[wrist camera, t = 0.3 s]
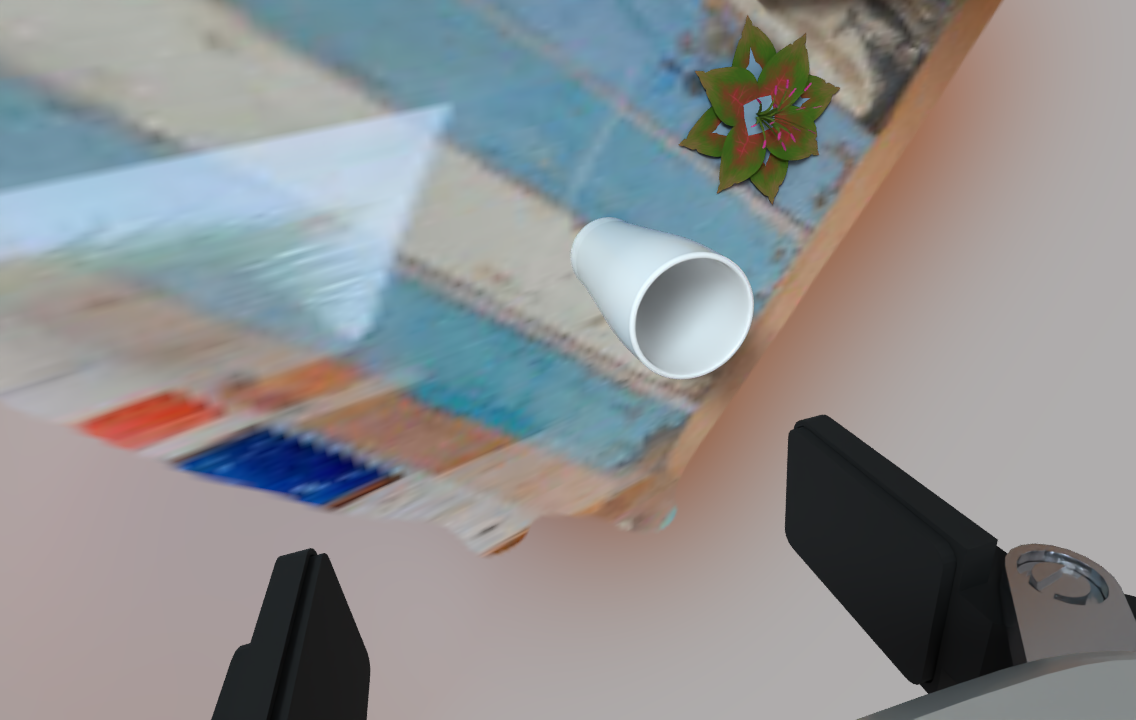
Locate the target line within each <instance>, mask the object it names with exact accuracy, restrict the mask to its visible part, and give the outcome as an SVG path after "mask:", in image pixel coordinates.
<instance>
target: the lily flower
mask: <svg viewBox="0 0 1136 720" xmlns="http://www.w3.org/2000/svg"><path fill="white" fill-rule="evenodd" d="M805 42H806V33H805V34H804V35H803V36H802V38H799V39H797V40H796V41H794V43H793V45H792V44H789V45H788V46H786V47H785V48H783V49H782V50H780V51H779V52H778V53H777V54H776V51H775V48H774V46H773V44H772V43H771V41H770V40H769V38H768V37H767V36H766V35H765V34H764V33H763V32H762V31H761V30H760V29H759V28H758V27H755V26H752V21H751V20H750V19H749V17H748V15H747V18H746V24H745V26H744V29H743V31H742V38H741V39H740V40H739V43H738V46H737V49H736V52H735V55H734V59H733V63H732V67H725V68H719V69H713V70H710V71H708V72H706V73H705V72H704V71H695V72H696V74H697V75H698V77H700V81H701V83H702V85H703V87H704V88H705V89H706V94H707V96H708V98H709V100H710V102H711V104H712V107H711V108H710V109H708V110H707V111H706V112H705V113H704V114H703V115H702V117H701V118H700V119H699V120H698V121H697V123H696V124H695V125H694V127H693V128H692V129H691V131H690V132H689V134H688V136H687V139H684V140H683V141H682V142H681V143H680V144H679V145H680V146H685V147H687V148H690V149H693V150H694V149H697V151H698V152H699V153H702V154H705V155H708V156H714V157H721V165H720V174H719V180H720V185H719V187H718V191H717V193H719V192H721V191H722V189H726V188H728V187H731V186H732V185H733V184H734V183H736V184H738V183H740V182H742V181H744V180H746V179H748V178H750V179H751V181H752V182H753V183H754V185H755V186H756V187H757V188H758V189H759V190H760V191H761V192H762V193H763V194H764V195H767V196H769V200H770V201H771V203H772V204H773V201H774V197H775V196H776V194H777V192H778V190H779V188H778V187H779V185H781V184H782V182H783V180H784V178H785V175H786V172H787V168H788V161H789V160H800V159H804V158H807V157H809V156H810V155H811V154H813V155H819V153H818V150H817V149H818V148H817V141H816V140H815V139H816V137H817V131H816V125H815V123H814V121H815V120H816V119H817V118H818V117H819V116H820V115H821V114H822V112H823V111H824V110H825V108H826V107H827V105H828V104H829V102H830V101H831V97H832V95H833V94H835V93H836V92H837V91H838V90H839V89H840V88H839V87H835V86H834V85H832V84H830V83H825V80H823V79H821V78H819V77H816V76H812V75H809V60H808V53H807V49H806V47H805V45H804V44H805ZM750 47H751V50H752V52H753V55H754V58H755V61H756V62H757V63H758V64H760V66H761V68H762V69H763V70H762V72H761V74H760V76H759V78H758V81H757V80H756V78H755V77H754V75H753V74H752V73H751V72H750V71H748V70H746V68H747V66H748V65H749V58H750ZM768 95H771V97H772V103H771V105H770V107H769V108H768V109H767V110H766V111H763V112H761V111H762V104H761V101H760V100H759V99H757V98H759V97H764V96H768ZM799 97H802V98H810V99H809V100H807V101H806V102H804V103H803V104H802V106H801V108H800V107H797V106H791V105H792V104H793V103H794V102H796V100H797V99H798V98H799ZM755 99H757V101H758V102H759V104H760V107H759V108H760V109H759V111H758V113H757V115H758V117H756V118H757V122H756V124H755V125H753V126H751V127H754V126H756V125H757V124H758V122H759V123H760V126H761V129H762V131H763V132H762V133H759V134H755V135H750V136H748V132H747V128H746V124H745V119H744V107H743V105H745V104H747V103H749V102H751V101H753V100H755ZM772 105H773V108H774V109H772V110H770V109H771V107H772ZM769 110H770V111H769ZM772 116H775V117H772ZM770 117H771V118H770ZM772 118H775V119H772ZM763 120H765V121H767V122H768V123H769V125H770V124H771V125H772V126H773V127H772V128H771V127H770V126H768V125H767V124H766V123H765V122H764V121H763ZM721 122H724V123H725V124H727V125H729V126H734V127H733V128H732V129H731V130H730V132H729V133H728V135H727V136H724V135H719V134H717V133H712V132H713V131H714V130H716V128H717V126H718V125H719V124H720V123H721ZM762 122H763V123H764V124H765V125H766V126H767V127H768V128H769V129H768V130H766V131H764V127H763V125H762ZM766 147H767V149H768V150H769V151H770V152H771V153H770V156H769V159H768V161H767V163H766V166H765V164H764V163H763V161H764V158H765V154H766Z"/></svg>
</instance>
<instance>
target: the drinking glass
mask: <svg viewBox="0 0 1136 720" xmlns="http://www.w3.org/2000/svg"><path fill="white" fill-rule="evenodd" d="M571 265H572V269H573V271H574V273H575V275H576V277H577V278H578V280H579V281H580V282H581V283H582V284H583V285H584V286H585V288H586V290H587V291H588V293H589V294H590V296H591V297H592V299H593V301H594V302H595V304H596V305H597V307H598V309H599V310H600V312H601V314H602V315H603V317H604V319H605V320H606V322H607V323H608V325H609V327H610V328H611V329H612V331H613V332H614V334H615V335H616V336H617V337H618V339H619V340H620V341H621V342H622V343H623V345H624V346H625V347H626V348H627V349H628V350H629V351H630V352H631V353H632V354H633V355H634V356H635V357H636V358H637V359H638V360H640V361H641V362H642V363H643V364H644V365H645V366H646V367H647V368H649V369H650V370H651V371H653V372H654V373H656V374H658V375H661V376H663V377H667V378H671V379H691V378H696V377H700V376H703V375H706V374H708V373H710V372H712V371H714V370H716V369H717V368H719V367H720V366H722V365H723V364H724V363H726V362H727V361H728V360H729V359H730V358H731V357H732V356H733V355H734V354H735V353H736V351H737V350H738V349H739V348H740V346H741V345H742V343H743V341H744V340H745V338H746V336H747V334H748V331H749V329H750V326H751V322H752V318H753V311H754V299H753V293H752V289H751V285H750V283H749V281H748V279H747V277H746V275H745V274H744V272H743V271H742V270H741V268H740V267H739V266H738V265H737V264H735V263H734V262H733V261H731V260H730V259H728V258H726V257H724V256H723V255H721V254H720V253H718V252H716V251H714V250H713V249H711V248H709V247H707V246H705V245H702V244H700V243H698V242H696V241H693V240H691V239H688V238H685V237H682V236H679V235H675V234H671V233H667V232H663V231H659V230H655V229H651V228H647V227H643V226H639V225H635V224H631V223H628V222H626V221H624V220H622V219H619V218H614V217H604V218H599V219H596V220H594V221H592V222H590V223H589V224H587V225H586V226H585V227H583V228H582V229H581V231H580V232H579V233H578V234H577V236H576V238H575V240H574V242H573V245H572V249H571Z"/></svg>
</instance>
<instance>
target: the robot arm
mask: <svg viewBox="0 0 1136 720" xmlns="http://www.w3.org/2000/svg"><path fill="white" fill-rule="evenodd" d="M787 460H788V461H787V487H786V514H785V516H786V517H785V533H786V537H787V539H788V542H789V543H790V545H791V546H792V548H793V549H794V550H795V551H796V552H797V554H798V555H799V556H800V557H801V558H802V559H803V560H804V562H805V563H806V564H807V565H808V566H809V567H810V569H811V570H812V571H813V572H814V573H815V574H816V575H817V576H818V578H819V579H820V580H821V581H822V582H823V583H824V585H825V586H826V587H827V588H828V589H829V590H830V591H831V593H832V594H833V595H834V596H835V597H836V598H837V599H838V601H839V602H840V603H841V604H842V605H843V606H844V607H845V609H846V610H847V611H848V612H849V613H850V614H851V615H852V617H853V618H854V619H855V620H856V621H857V622H858V624H859V625H860V626H861V627H862V628H863V629H864V630H865V632H866V633H867V634H868V635H869V636H870V637H871V639H873V641H874V642H875V643H876V644H877V645H878V647H879V648H880V649H881V650H882V651H883V652H884V653H885V655H886V656H887V657H888V658H889V659H890V660H891V661H892V663H893V664H894V665H895V666H896V667H897V668H898V670H899V671H900V672H901V673H902V674H903V675H904V676H905V677H906V678H907V679H908V680H909V681H910V682H912V683H913V684H916V685H918V684H920V685H921V686H922V687H923V688H924V689H925V691H926V692H927V693H928V694H927V695H924V696H921V697H918V698H916V699H913V700H910V701H907V702H905V703H902V704H899V705H896V706H893V707H891V708H888V709H885V710H882V711H879V712H876V713H874V714H871V715H868V716H865V717H862V718H860V719H857V720H1136V597H1134V596H1130V595H1126V594H1124V593H1123V591H1122V588H1121V587H1120V585H1119V584H1118V582H1117V581H1116V579H1115V578H1114V577H1113V576H1112V575H1111V574H1110V573H1109V572H1108V571H1106V570H1105V569H1104V568H1103V567H1102V566H1100V565H1099V564H1097V563H1095V562H1094V561H1092V560H1090V559H1089V558H1087V557H1085V556H1083V555H1080V554H1078V553H1075V552H1073V551H1071V550H1068V549H1064V548H1060V547H1056V546H1053V545H1045V544H1026V545H1020V546H1018V547H1015V548H1013V549H1011V550H1010V551H1009V553H1008V554H1007V553H1006V552H1005V551H1003V550H1002V549H1000V548H999V547H998V546H996V545H997V541H998V540H997V539H996V538H995V537H993V536H992V535H991V534H989V533H988V532H986V531H985V530H984V529H982V528H981V527H980V526H978V525H976V523H974V522H973V521H971V520H970V519H969V518H967V517H966V516H964V515H963V514H961V513H960V512H959V511H958V510H956V509H955V508H954V507H952V506H951V505H949V504H948V503H947V502H945V501H944V500H943V499H941V498H940V497H939V496H937V495H936V494H934V493H933V492H932V491H930V490H929V489H927V488H926V487H925V486H923V485H922V484H921V483H919V482H918V481H917V480H915V479H914V478H912V477H911V476H910V475H908V474H907V473H906V472H904V471H903V470H901V469H900V468H899V467H897V466H896V465H895V464H893V463H892V462H891V461H889V460H888V459H886V458H885V457H884V456H882V455H881V454H880V453H878V452H877V451H875V450H874V449H873V448H871V447H870V446H869V445H867V444H866V443H864V442H863V441H862V440H860V439H859V438H857V437H856V436H855V435H854V434H852V433H851V432H849V431H848V430H847V429H845V428H844V427H842V426H841V425H840V424H838V423H837V422H836V421H834V420H833V419H831V418H830V417H828V416H827V415H819V416H816V417H811V418H808V419H804V420H800V421H798V422H796V424H795V426H794V429H793V430H791V431H790V433H789V436H788V459H787ZM369 682H370V662H369V657H368V653H367V651H366V648H365V646H364V643H363V640H362V638H361V636H360V633H359V631H358V628H357V626H356V623H355V621H354V619H353V616H352V613H351V611H350V609H349V606H348V604H347V601H346V599H345V596H344V594H343V591H342V589H341V586H340V584H339V581H338V579H337V577H336V574H335V572H334V569H333V567H332V564H331V562H330V560H329V557H328V555H327V554H325V553H323V554H319V555H317V553H316V551H315V550H314V549H311V548H310V549H306V550H302V551H298V552H295V553H291V554H287V555H283V556H280V557H279V558H277V560H276V563H275V566H274V569H273V572H272V575H271V579H270V582H269V585H268V588H267V591H266V595H265V598H264V601H263V604H262V607H261V611H260V614H259V617H258V620H257V623H256V627H255V630H254V633H253V636H252V640H251V643H249V644H246V645H242V646H240V647H239V648H238V649H237V650H236V651H235V654H234V656H233V658H232V660H231V663H230V666H229V669H228V672H227V675H226V678H225V681H224V684H223V687H222V690H221V693H220V696H219V698H218V702H217V704H216V707H215V711H214V714H213V716H212V719H211V720H367V707H368V694H369Z"/></svg>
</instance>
